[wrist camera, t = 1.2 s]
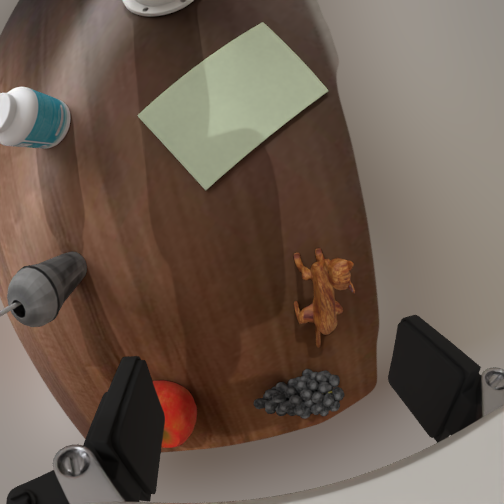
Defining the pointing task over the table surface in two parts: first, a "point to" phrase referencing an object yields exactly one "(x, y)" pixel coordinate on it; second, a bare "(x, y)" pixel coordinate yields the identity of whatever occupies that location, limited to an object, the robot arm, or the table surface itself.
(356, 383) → the table surface
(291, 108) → the mat
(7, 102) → the pill bottle
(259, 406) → the fruit
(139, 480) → the robot arm
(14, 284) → the beverage cup
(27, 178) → the table surface
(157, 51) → the table surface
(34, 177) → the table surface
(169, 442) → the apple
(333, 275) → the cat figurine
